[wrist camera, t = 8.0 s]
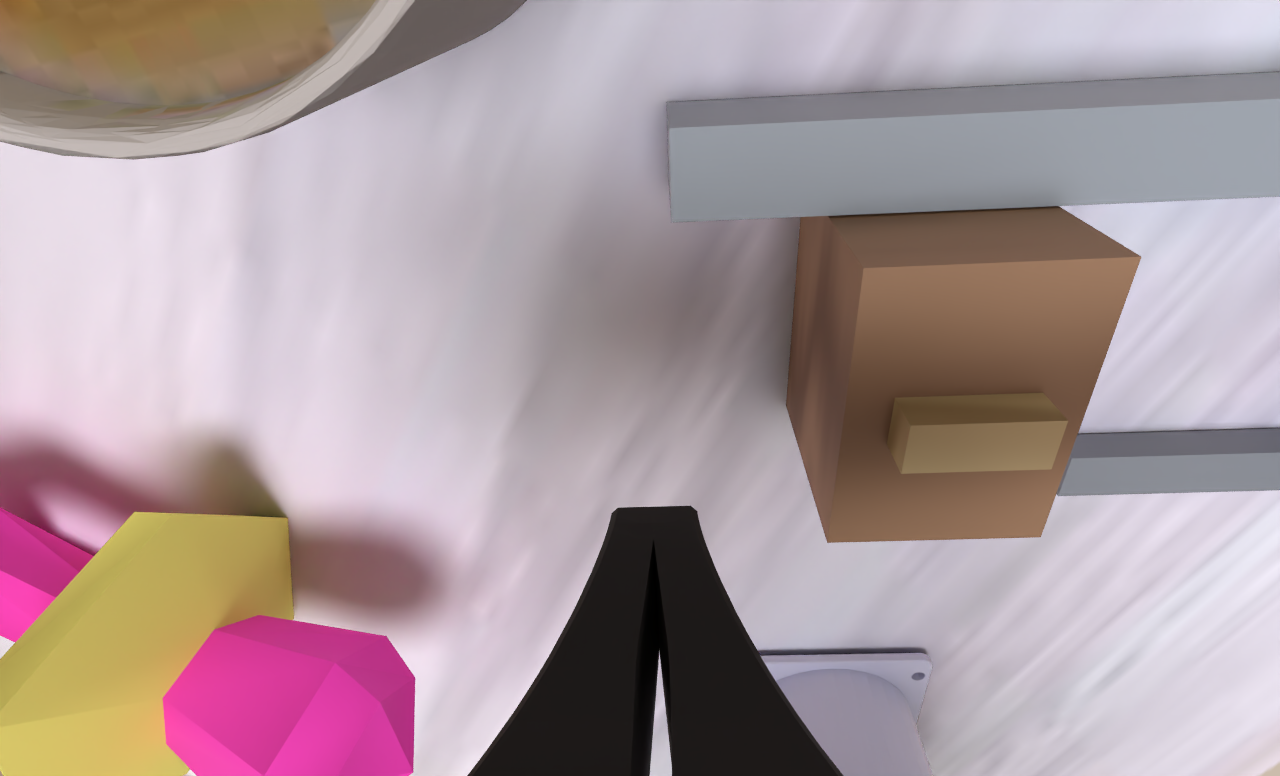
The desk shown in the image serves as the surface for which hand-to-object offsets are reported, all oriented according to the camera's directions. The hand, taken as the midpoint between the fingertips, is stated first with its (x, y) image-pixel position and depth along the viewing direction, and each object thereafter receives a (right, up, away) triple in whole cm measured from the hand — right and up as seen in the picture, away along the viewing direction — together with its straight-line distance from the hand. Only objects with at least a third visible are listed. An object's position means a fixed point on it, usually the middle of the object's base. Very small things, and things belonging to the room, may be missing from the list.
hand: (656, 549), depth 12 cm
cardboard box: (+7, +5, +8) cm, 12 cm away
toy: (-15, -3, +14) cm, 21 cm away
